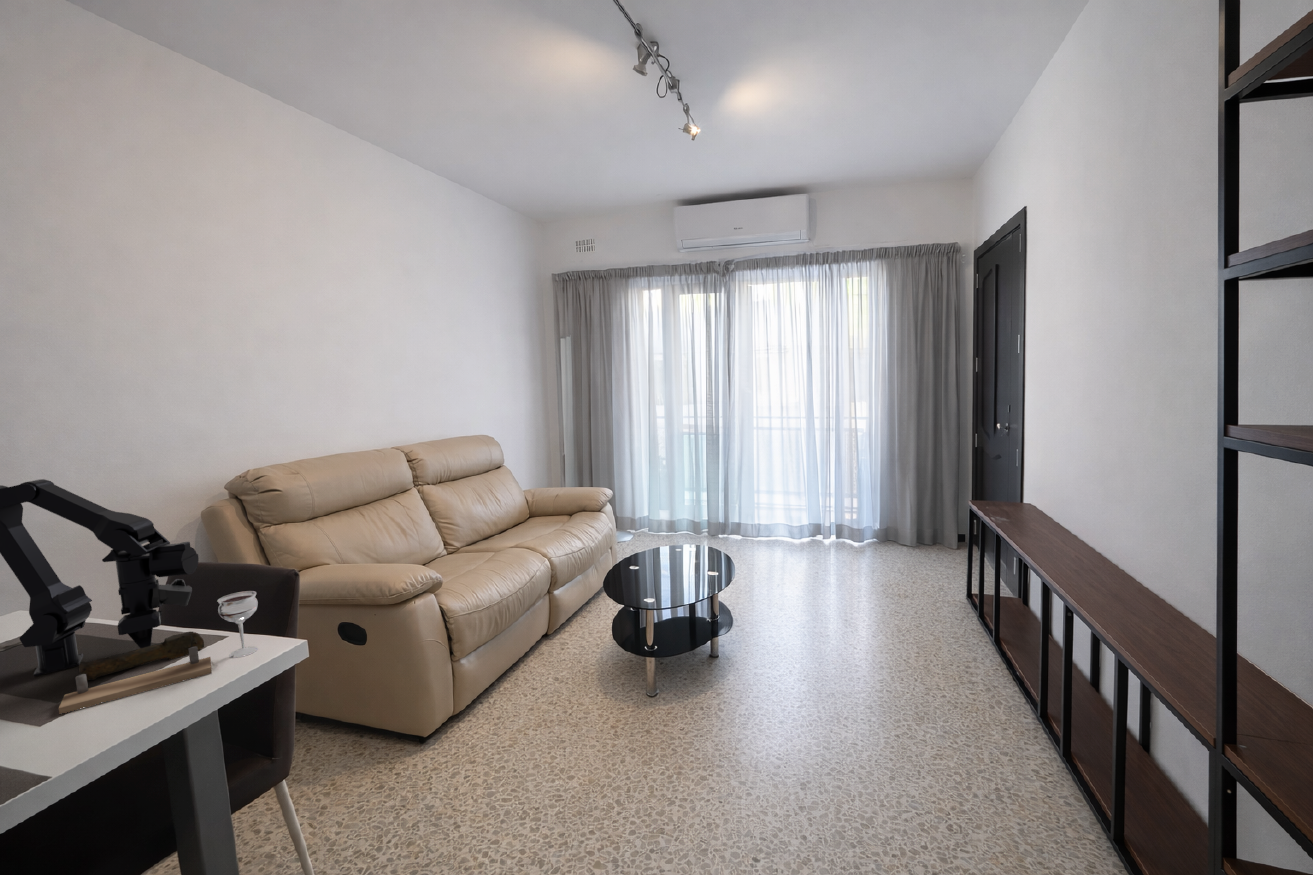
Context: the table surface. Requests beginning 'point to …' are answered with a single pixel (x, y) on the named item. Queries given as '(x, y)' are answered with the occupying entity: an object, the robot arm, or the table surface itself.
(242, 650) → the wineglass
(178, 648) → the hand tool
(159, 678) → the tool rack
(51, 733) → the table surface
